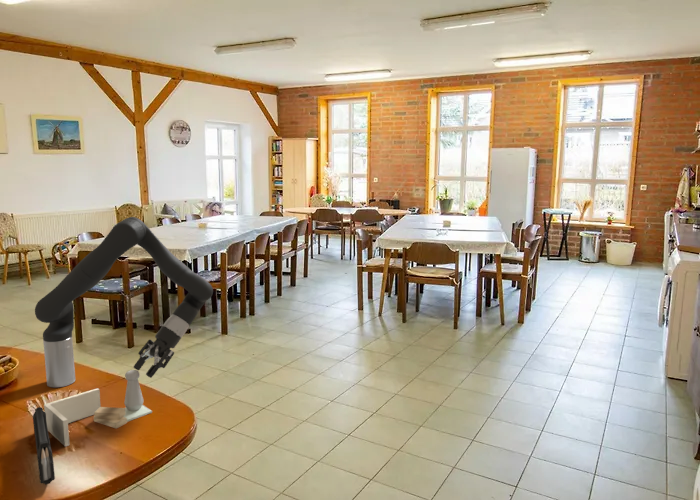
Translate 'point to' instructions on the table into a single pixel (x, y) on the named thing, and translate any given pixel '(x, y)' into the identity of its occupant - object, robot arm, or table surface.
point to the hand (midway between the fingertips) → (141, 372)
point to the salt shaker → (133, 391)
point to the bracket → (70, 412)
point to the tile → (136, 413)
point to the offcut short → (109, 413)
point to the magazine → (43, 447)
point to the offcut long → (112, 422)
